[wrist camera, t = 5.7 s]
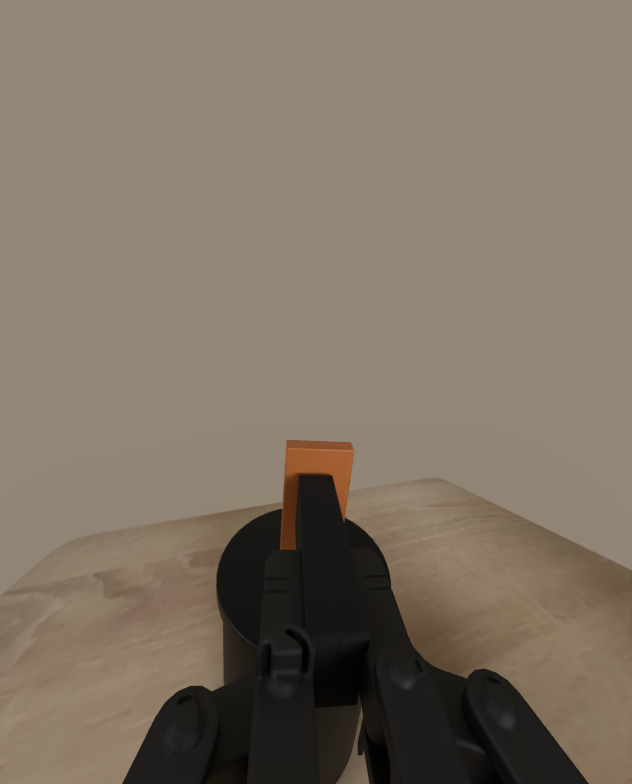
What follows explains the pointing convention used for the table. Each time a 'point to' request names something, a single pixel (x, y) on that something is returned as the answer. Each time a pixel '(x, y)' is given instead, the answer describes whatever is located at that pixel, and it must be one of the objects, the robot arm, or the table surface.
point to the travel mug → (243, 618)
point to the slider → (313, 462)
